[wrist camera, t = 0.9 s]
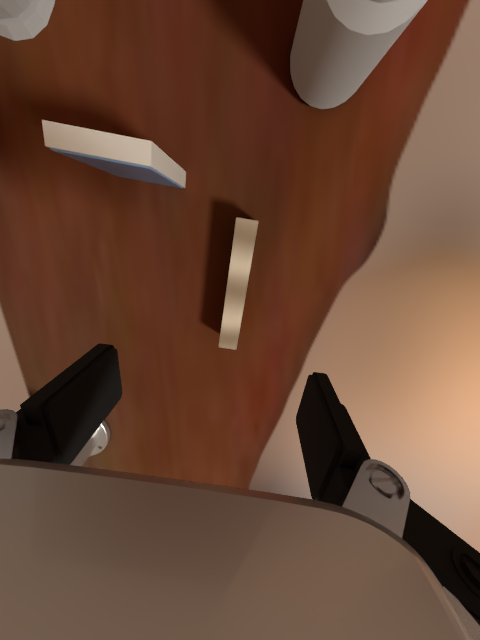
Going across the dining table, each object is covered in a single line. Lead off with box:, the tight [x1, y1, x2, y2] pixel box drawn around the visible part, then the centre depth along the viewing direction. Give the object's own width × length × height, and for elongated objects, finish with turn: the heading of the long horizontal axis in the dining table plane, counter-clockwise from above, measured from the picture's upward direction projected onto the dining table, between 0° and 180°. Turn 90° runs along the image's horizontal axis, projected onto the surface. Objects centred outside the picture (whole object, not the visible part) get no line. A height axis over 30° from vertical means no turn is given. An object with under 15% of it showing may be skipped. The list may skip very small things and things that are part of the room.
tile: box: [42, 120, 186, 189], centre depth 21 cm, size 2×8×10 cm, turn 80°
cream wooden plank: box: [219, 217, 258, 350], centre depth 29 cm, size 16×2×4 cm, turn 171°
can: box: [290, 0, 427, 109], centre depth 16 cm, size 8×8×12 cm
